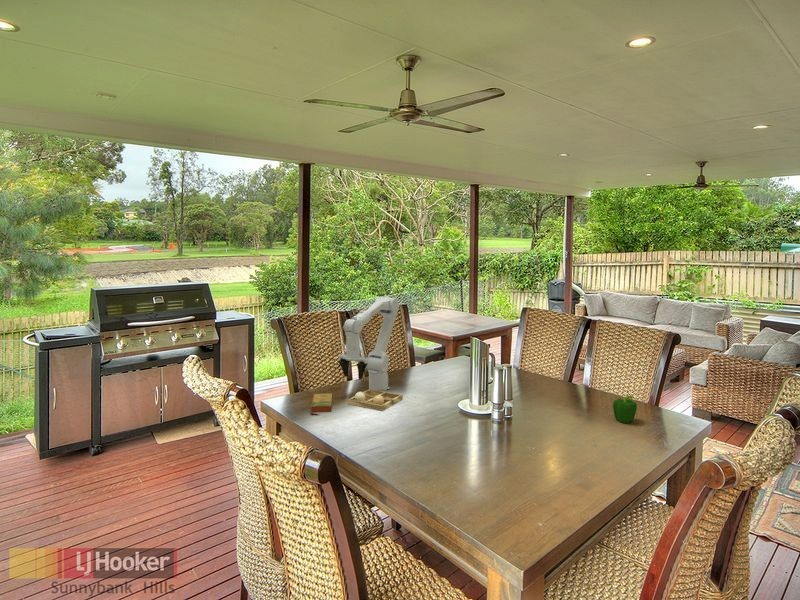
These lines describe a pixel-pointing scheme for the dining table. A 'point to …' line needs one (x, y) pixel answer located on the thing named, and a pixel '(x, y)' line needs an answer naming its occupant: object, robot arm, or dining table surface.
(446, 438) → the dining table surface
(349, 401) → the egg rack
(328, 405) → the carton
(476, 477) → the dining table surface
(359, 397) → the white egg
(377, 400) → the tan ball
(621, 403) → the bell pepper
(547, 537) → the dining table surface
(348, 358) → the robot arm
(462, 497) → the dining table surface
